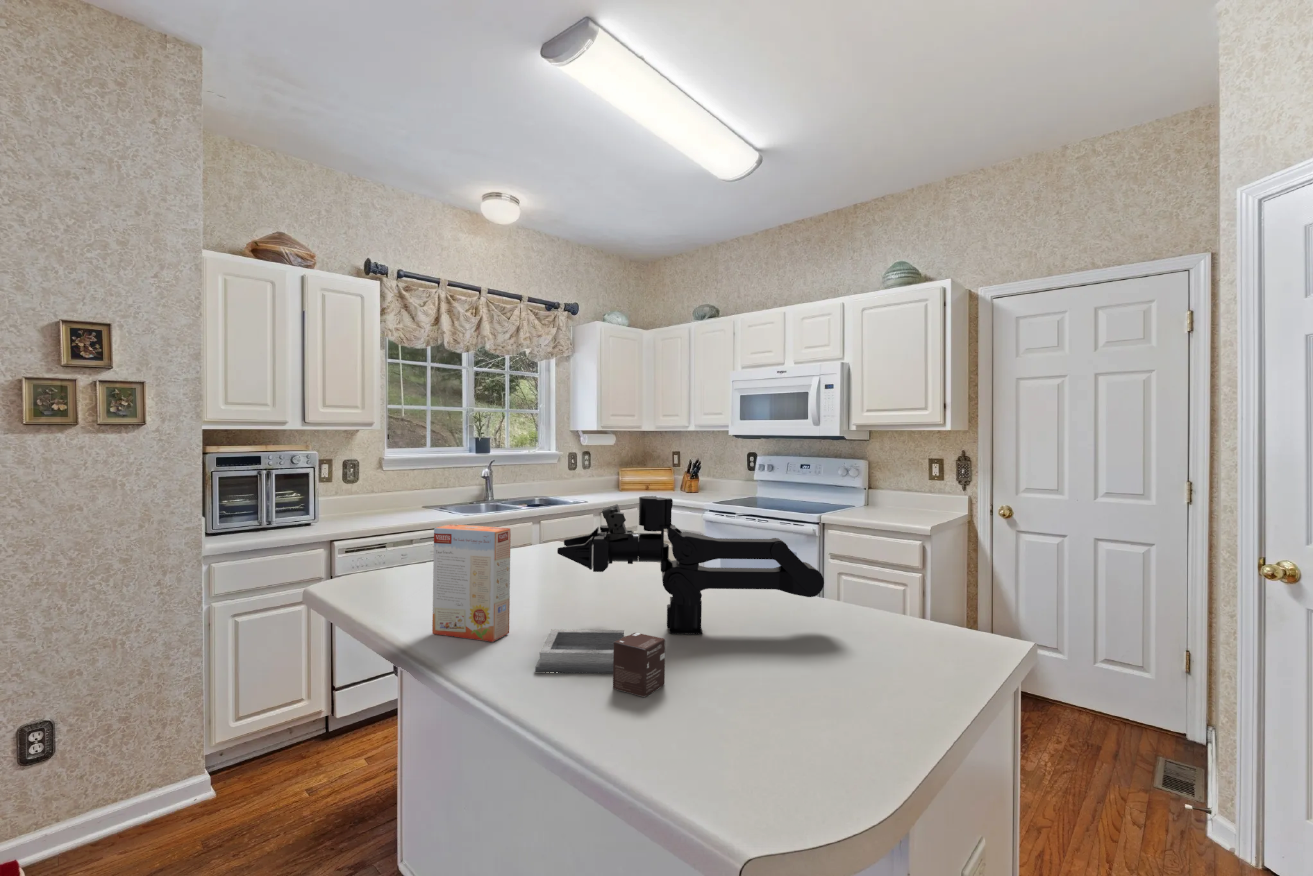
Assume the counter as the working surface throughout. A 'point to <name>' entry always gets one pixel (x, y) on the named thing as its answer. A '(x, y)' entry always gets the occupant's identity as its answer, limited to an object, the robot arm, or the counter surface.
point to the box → (639, 664)
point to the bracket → (578, 651)
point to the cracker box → (471, 582)
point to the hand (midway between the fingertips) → (560, 546)
